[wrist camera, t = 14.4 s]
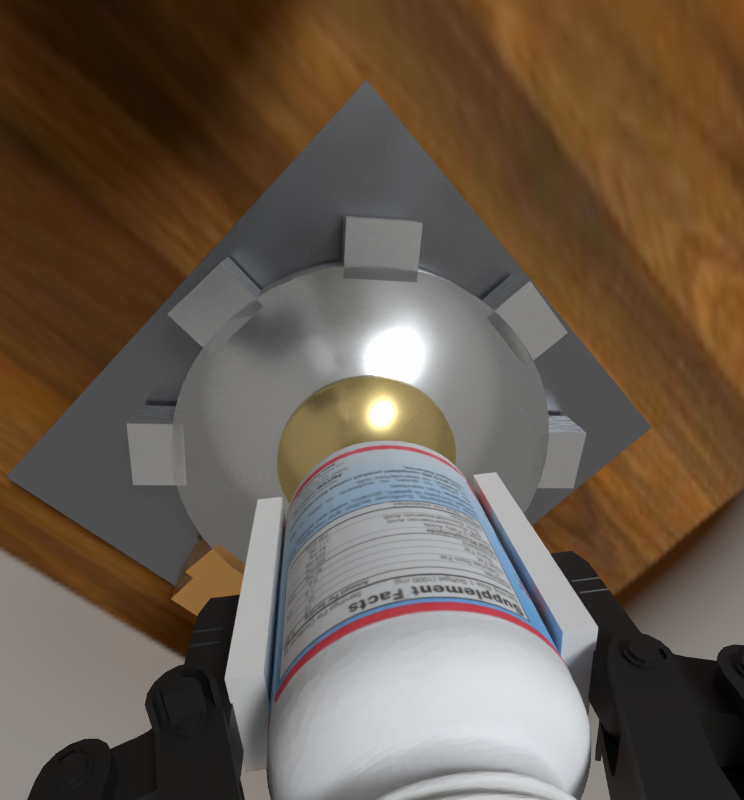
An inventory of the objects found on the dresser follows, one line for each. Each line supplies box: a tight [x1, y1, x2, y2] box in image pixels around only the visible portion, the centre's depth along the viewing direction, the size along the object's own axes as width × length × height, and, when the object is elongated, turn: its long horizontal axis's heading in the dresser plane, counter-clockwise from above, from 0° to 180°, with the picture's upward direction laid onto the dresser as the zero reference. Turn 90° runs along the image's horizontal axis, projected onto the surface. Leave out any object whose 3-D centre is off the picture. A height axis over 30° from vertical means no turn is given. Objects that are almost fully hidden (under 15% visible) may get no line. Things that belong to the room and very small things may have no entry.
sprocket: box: [127, 216, 586, 597], centre depth 19 cm, size 18×18×8 cm
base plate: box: [7, 80, 651, 616], centre depth 23 cm, size 19×21×2 cm
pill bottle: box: [266, 440, 591, 800], centre depth 12 cm, size 6×6×11 cm
